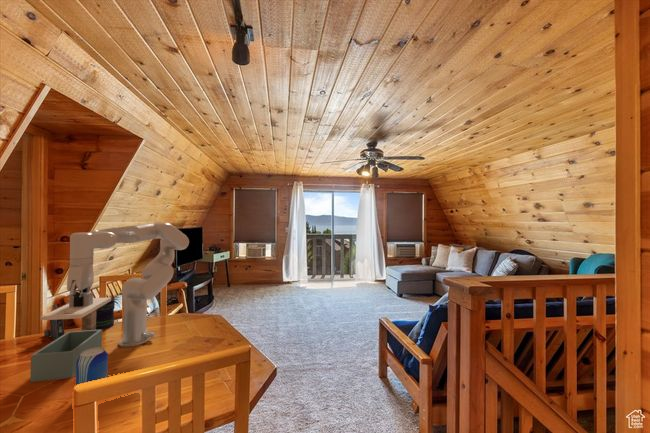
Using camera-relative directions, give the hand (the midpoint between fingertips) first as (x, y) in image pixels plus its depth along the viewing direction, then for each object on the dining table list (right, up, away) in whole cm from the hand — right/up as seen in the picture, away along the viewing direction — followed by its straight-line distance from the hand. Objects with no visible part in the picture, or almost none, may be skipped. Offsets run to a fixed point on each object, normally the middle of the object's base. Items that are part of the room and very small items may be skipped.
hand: (81, 304), depth 118 cm
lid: (0, -2, -1) cm, 2 cm away
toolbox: (-4, -25, -1) cm, 25 cm away
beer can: (+22, -26, -21) cm, 40 cm away
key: (-13, -25, +19) cm, 34 cm away
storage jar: (-21, -25, +38) cm, 50 cm away
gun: (-34, -24, +23) cm, 47 cm away
